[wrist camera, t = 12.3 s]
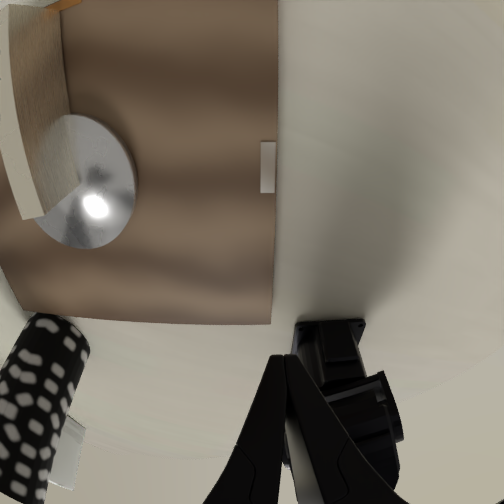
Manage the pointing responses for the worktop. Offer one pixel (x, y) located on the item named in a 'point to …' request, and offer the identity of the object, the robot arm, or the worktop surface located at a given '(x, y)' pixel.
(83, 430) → the skincare box
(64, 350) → the white-spotted black cylinder
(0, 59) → the cream block with dome
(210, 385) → the worktop surface
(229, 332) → the worktop surface
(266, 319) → the dial plate
